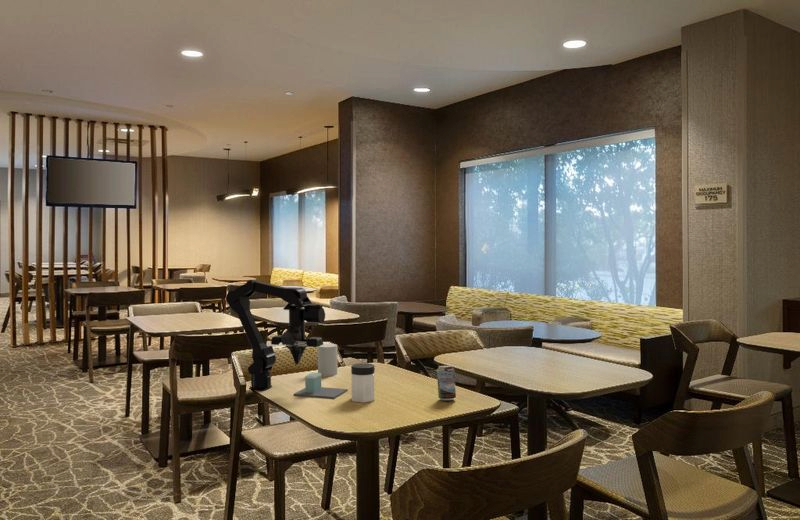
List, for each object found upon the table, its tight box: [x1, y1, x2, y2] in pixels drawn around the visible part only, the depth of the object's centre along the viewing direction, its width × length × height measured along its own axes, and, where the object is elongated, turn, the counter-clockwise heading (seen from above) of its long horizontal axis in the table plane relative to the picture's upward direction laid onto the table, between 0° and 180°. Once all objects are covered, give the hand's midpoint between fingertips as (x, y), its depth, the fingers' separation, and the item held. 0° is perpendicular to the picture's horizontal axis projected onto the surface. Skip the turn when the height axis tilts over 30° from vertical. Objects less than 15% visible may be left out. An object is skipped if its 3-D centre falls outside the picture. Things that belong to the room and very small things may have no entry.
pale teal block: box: [304, 372, 322, 393], centre depth 222 cm, size 4×6×6 cm, turn 162°
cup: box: [317, 343, 339, 377], centre depth 253 cm, size 8×8×12 cm
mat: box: [293, 386, 349, 400], centre depth 221 cm, size 16×12×1 cm
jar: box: [350, 362, 376, 404], centre depth 212 cm, size 9×8×12 cm
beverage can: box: [436, 365, 457, 401], centre depth 211 cm, size 6×7×12 cm
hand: (297, 364), depth 224 cm, fingers closed
